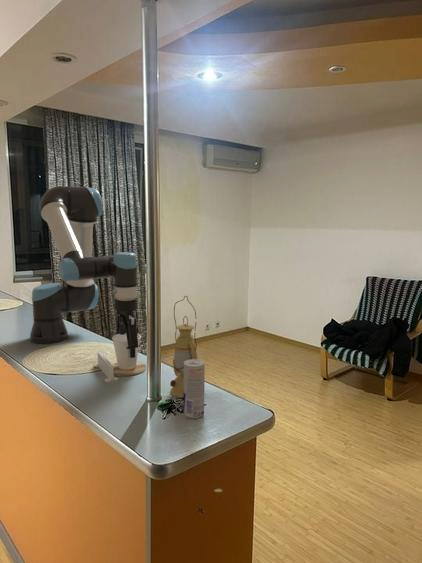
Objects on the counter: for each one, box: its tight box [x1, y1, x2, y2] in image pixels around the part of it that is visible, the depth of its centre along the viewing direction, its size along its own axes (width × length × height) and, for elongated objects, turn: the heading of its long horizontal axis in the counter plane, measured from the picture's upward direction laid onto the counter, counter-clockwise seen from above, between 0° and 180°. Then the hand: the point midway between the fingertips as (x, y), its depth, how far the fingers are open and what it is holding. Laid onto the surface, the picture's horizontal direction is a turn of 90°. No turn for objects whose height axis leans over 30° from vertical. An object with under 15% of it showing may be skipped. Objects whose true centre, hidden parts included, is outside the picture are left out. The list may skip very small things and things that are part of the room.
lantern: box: [169, 295, 199, 398], centre depth 122 cm, size 12×10×30 cm
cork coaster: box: [111, 361, 147, 377], centre depth 142 cm, size 13×13×1 cm
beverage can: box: [183, 358, 206, 419], centre depth 110 cm, size 6×6×15 cm
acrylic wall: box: [93, 351, 119, 383], centre depth 138 cm, size 16×4×5 cm, turn 30°
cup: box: [111, 333, 142, 370], centre depth 142 cm, size 10×10×11 cm
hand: (127, 361), depth 142 cm, fingers closed on cup, 9 cm apart
